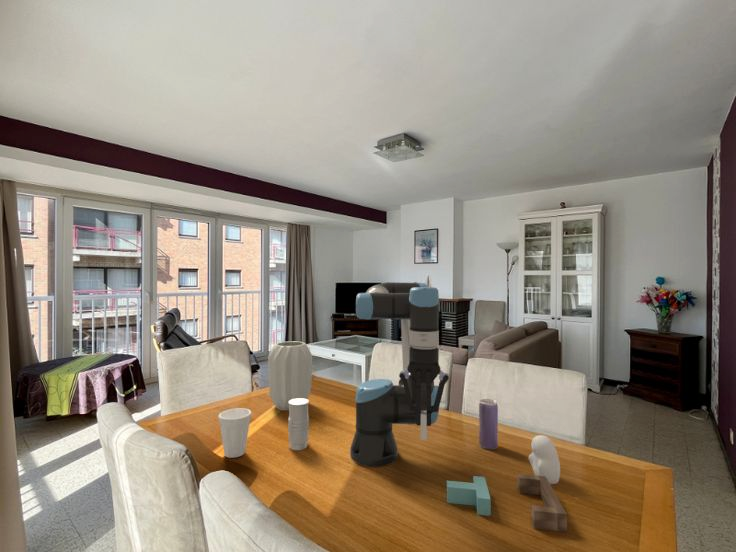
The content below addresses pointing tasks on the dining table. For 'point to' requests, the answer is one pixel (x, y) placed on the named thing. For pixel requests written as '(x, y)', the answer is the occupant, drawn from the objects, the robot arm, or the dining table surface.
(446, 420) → the dining table surface
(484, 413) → the beverage can
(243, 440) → the cup
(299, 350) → the vase
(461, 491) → the t block
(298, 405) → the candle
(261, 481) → the dining table surface
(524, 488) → the bracket
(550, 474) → the figurine
